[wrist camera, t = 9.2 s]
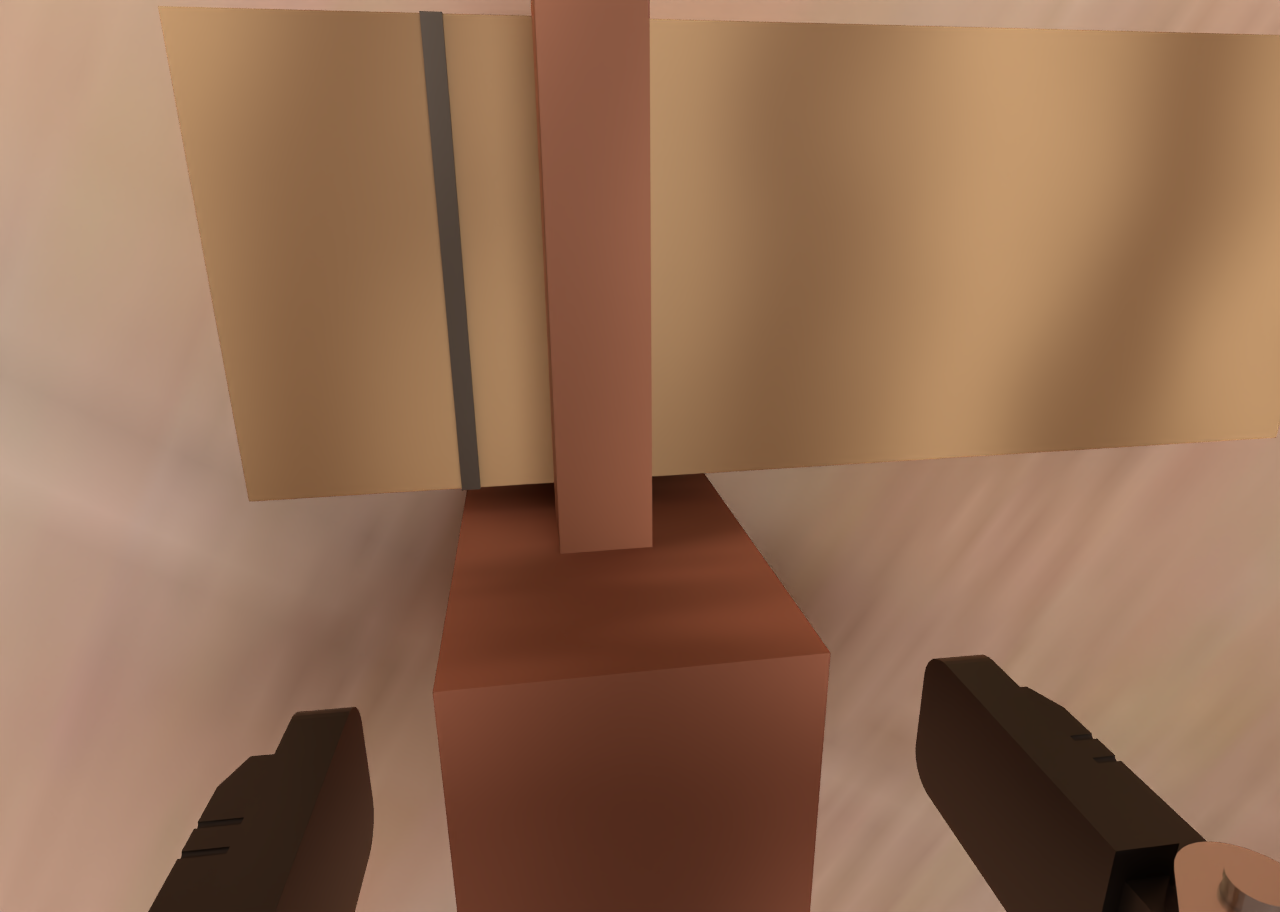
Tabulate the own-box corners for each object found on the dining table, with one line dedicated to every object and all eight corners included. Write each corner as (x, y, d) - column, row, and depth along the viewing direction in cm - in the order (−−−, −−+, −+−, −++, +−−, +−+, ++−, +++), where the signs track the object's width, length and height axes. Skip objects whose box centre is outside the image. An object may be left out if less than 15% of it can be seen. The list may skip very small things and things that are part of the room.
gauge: (702, 16, 13) (896, -184, 6) (693, 660, 17) (806, 950, 10) (429, 8, 12) (330, -221, 6) (487, 680, 16) (468, 1004, 10)
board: (1270, 59, 15) (1388, 37, 13) (1191, 411, 17) (1280, 439, 15) (214, 37, 12) (154, 4, 10) (284, 461, 14) (246, 503, 12)
